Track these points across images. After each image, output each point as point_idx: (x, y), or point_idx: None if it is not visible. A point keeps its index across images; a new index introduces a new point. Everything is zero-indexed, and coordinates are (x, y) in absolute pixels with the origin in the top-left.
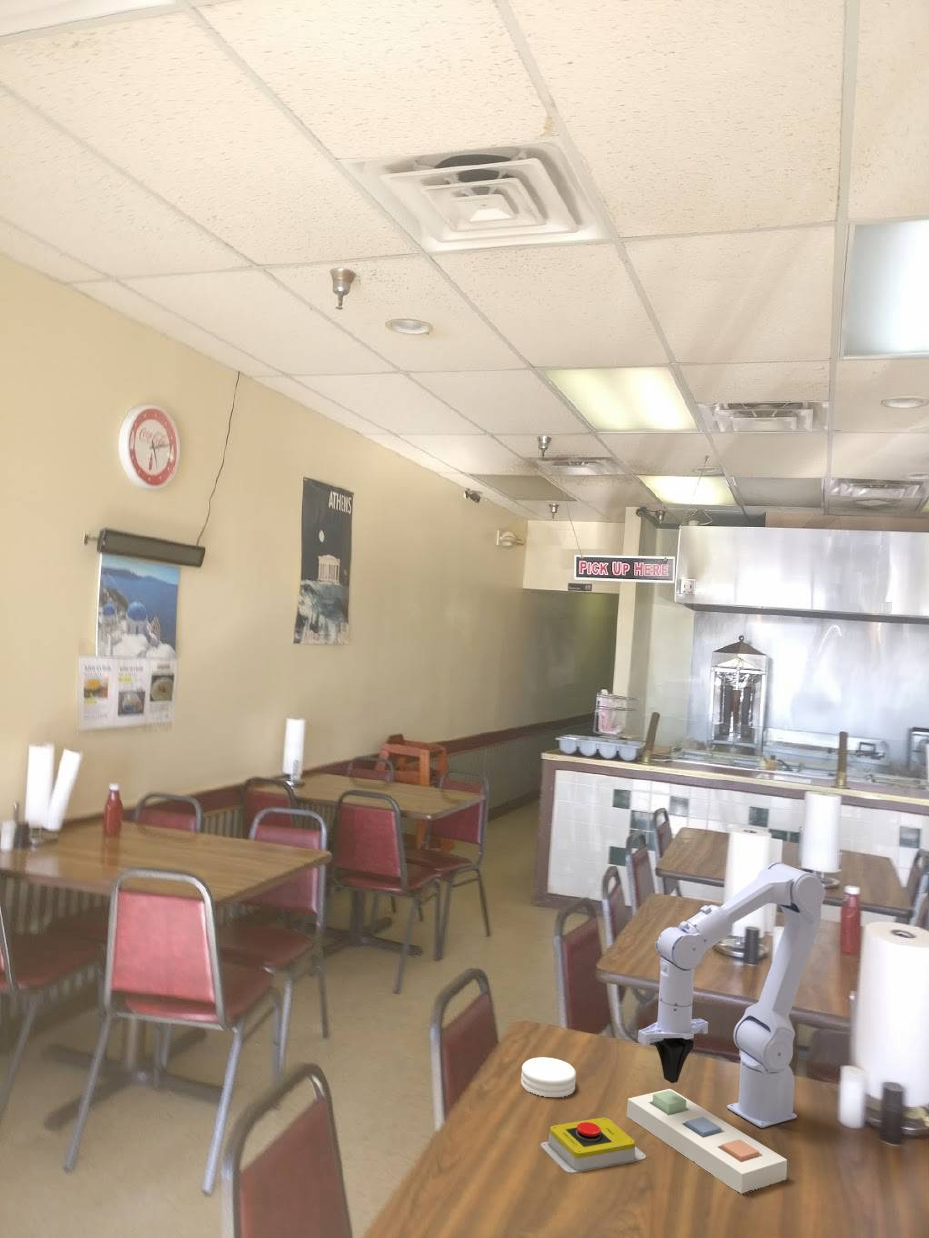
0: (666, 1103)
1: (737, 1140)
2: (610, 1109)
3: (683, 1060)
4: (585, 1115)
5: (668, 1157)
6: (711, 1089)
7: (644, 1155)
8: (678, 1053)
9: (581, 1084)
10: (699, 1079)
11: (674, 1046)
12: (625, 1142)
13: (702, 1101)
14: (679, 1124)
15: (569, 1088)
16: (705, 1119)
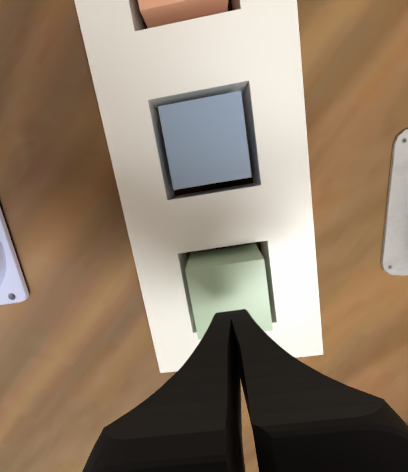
0: (264, 270)
1: (153, 4)
2: (323, 362)
3: (197, 364)
4: (403, 353)
5: (336, 119)
6: (19, 381)
7: (398, 141)
8: (280, 390)
9: None
10: (23, 424)
11: (371, 458)
12: None
13: (73, 340)
14: (270, 180)
15: None
16: (176, 172)
